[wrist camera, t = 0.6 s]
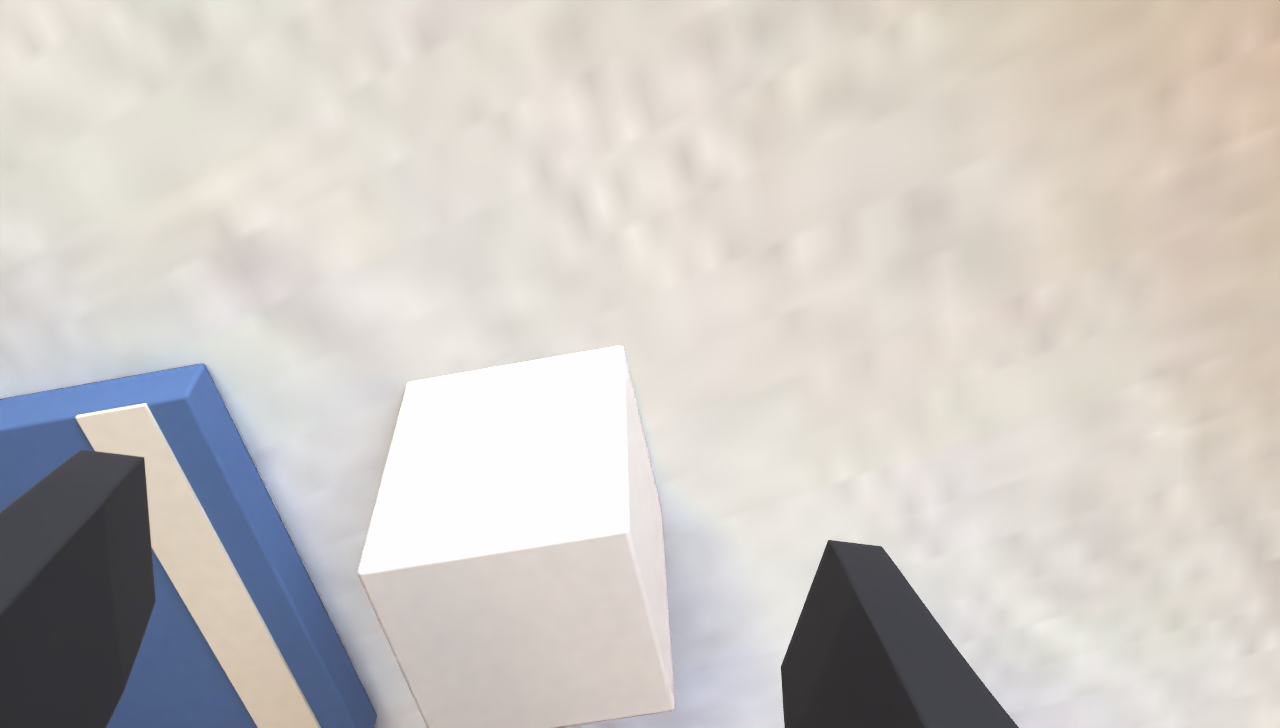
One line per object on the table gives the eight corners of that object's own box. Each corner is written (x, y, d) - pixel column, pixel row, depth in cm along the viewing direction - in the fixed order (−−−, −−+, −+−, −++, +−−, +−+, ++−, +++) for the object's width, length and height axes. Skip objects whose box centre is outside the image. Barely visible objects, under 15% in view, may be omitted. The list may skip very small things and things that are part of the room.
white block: (662, 510, 24) (676, 711, 20) (465, 541, 25) (434, 747, 20) (623, 342, 22) (629, 529, 17) (406, 380, 22) (354, 573, 18)
